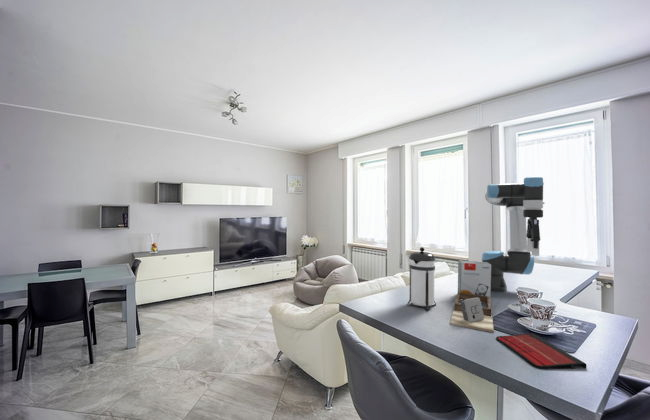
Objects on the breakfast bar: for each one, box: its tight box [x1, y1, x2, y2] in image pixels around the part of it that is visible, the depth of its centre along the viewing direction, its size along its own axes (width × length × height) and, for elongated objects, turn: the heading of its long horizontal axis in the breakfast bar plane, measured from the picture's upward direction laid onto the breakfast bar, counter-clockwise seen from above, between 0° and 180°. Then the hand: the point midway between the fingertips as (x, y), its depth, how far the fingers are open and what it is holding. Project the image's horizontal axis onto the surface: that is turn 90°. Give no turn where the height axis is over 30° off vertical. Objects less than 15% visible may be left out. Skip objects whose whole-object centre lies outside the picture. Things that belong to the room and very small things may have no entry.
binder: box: [495, 332, 587, 370], centre depth 95 cm, size 16×2×21 cm
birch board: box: [449, 310, 495, 334], centre depth 120 cm, size 16×16×1 cm
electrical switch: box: [459, 297, 484, 322], centre depth 121 cm, size 9×5×9 cm, turn 115°
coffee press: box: [406, 247, 437, 311], centre depth 141 cm, size 17×16×30 cm
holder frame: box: [454, 291, 492, 317], centre depth 139 cm, size 21×15×4 cm
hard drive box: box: [457, 259, 491, 298], centre depth 154 cm, size 16×8×20 cm, turn 73°
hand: (532, 253), depth 131 cm, fingers open, 13 cm apart
